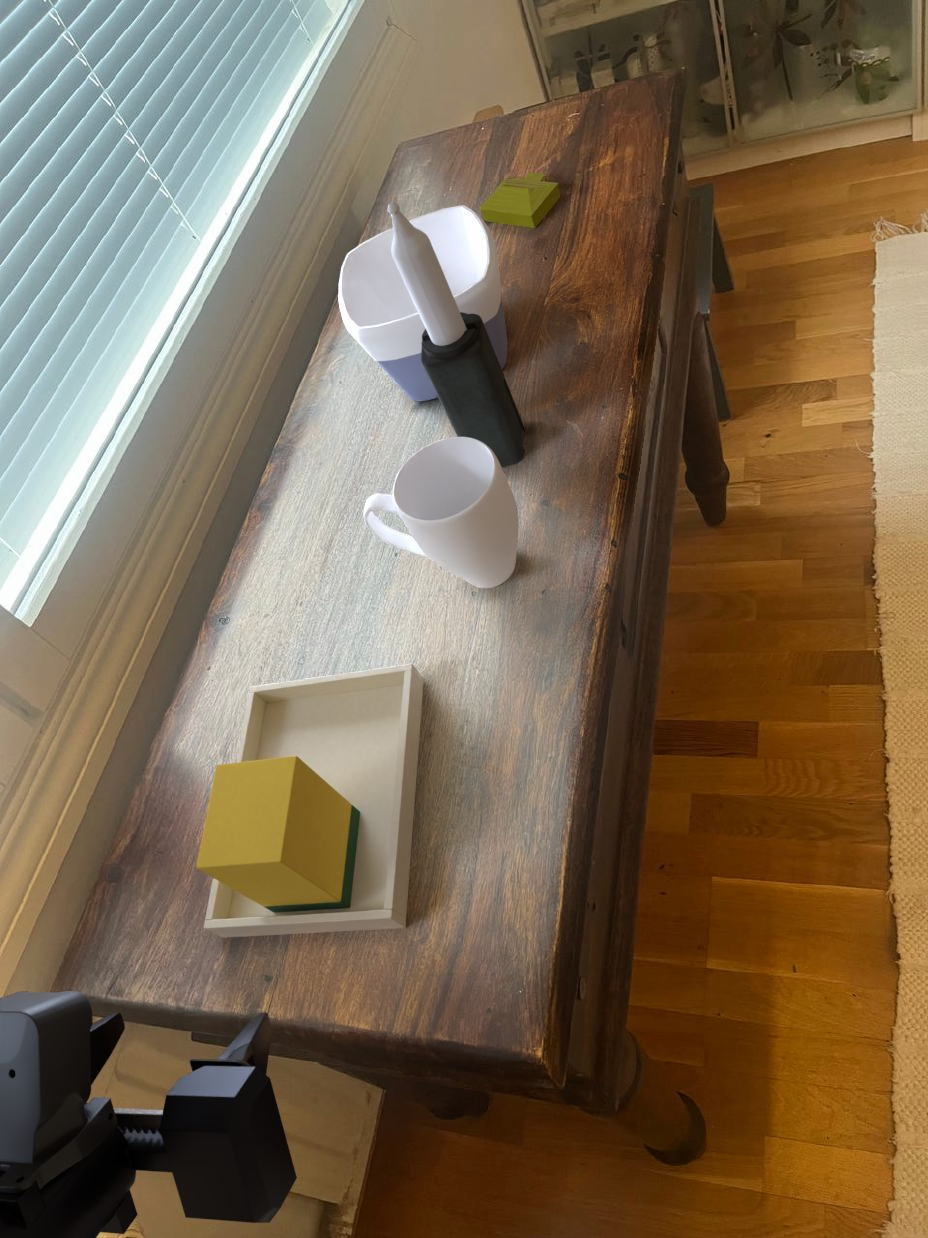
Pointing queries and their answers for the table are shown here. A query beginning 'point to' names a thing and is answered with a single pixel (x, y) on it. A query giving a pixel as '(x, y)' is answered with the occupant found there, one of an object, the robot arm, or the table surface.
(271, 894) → the block
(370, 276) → the bowl
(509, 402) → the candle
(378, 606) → the table surface
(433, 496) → the mug
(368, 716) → the tray
